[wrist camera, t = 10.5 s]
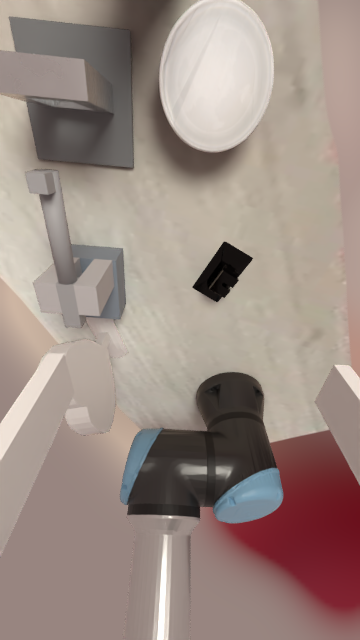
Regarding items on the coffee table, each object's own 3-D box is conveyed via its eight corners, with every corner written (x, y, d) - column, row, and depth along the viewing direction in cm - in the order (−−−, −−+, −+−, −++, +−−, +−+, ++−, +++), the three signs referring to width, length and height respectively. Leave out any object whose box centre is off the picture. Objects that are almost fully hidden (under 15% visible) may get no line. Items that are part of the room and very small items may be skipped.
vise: (125, 303, 45) (105, 359, 33) (80, 300, 44) (44, 355, 33) (118, 165, 33) (82, 177, 21) (56, 160, 32) (-15, 168, 21)
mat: (133, 167, 33) (133, 167, 32) (40, 158, 32) (38, 158, 32) (130, 32, 26) (129, 29, 25) (12, 18, 25) (8, 16, 25)
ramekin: (158, 22, 26) (153, -3, 21) (268, 15, 25) (286, -12, 21) (165, 153, 32) (163, 155, 28) (253, 149, 32) (265, 150, 27)
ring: (114, 113, 29) (88, 101, 21) (44, 107, 29) (-10, 91, 21) (113, 84, 28) (83, 59, 20) (39, 77, 27) (-22, 48, 19)
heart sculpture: (75, 302, 45) (22, 379, 30) (101, 296, 44) (60, 372, 29) (109, 363, 53) (81, 446, 38) (131, 359, 52) (112, 442, 38)
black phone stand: (215, 308, 46) (218, 323, 42) (181, 290, 44) (181, 303, 40) (261, 252, 40) (269, 263, 36) (224, 227, 38) (229, 236, 34)
